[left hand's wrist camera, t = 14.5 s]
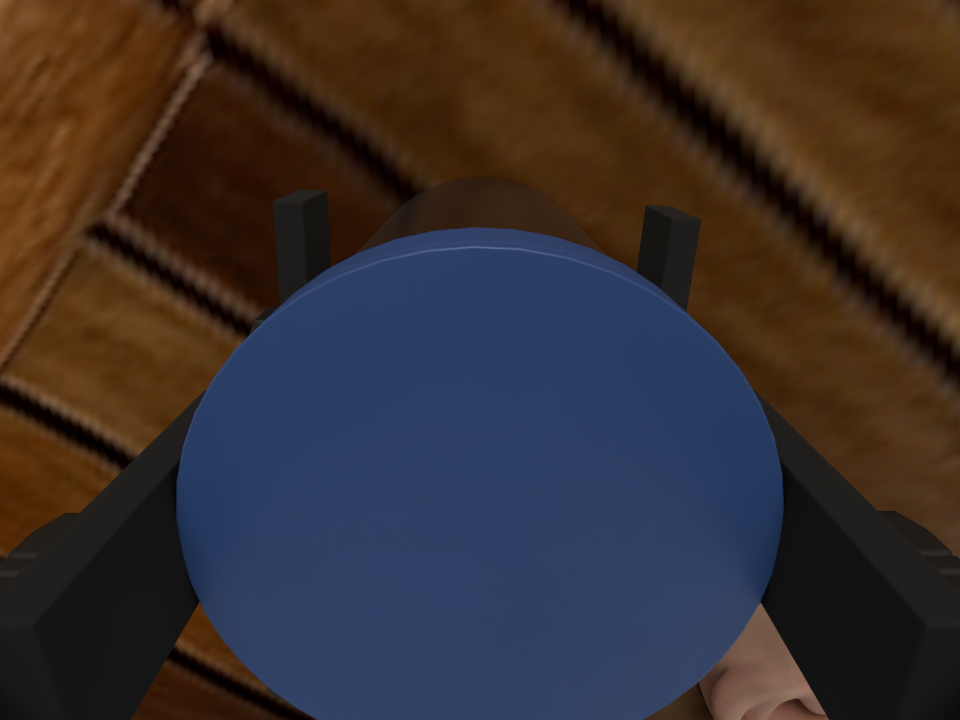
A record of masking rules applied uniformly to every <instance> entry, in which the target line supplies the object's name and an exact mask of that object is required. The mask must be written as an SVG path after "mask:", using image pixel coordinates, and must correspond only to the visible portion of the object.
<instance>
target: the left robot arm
mask: <svg viewBox="0 0 960 720" xmlns="http://www.w3.org/2000/svg"><path fill="white" fill-rule="evenodd" d="M205 393H206V391H204V392H203V393H202V394H201V395H200V396H199V397H198V398H197V399H196V400H195V401H194V402H192V403H191V404H190V405H189V406H188V407H187V408H186V409H185V410H184V411H183V412H182V413H181V414H180V415H179V416H178V417H177V418H176V419H175V420H174V421H173V422H172V423H171V424H170V425H169V426H168V427H167V428H166V429H165V430H164V431H163V432H162V433H161V434H160V435H159V436H158V437H157V438H156V439H155V440H154V441H153V442H152V443H151V444H150V445H149V446H148V447H147V448H146V449H145V450H144V451H143V452H142V453H141V454H140V455H138V456H137V457H136V458H135V459H134V460H133V461H132V462H131V463H130V464H129V465H128V466H127V467H126V468H125V469H124V470H123V471H122V472H121V473H120V474H119V475H118V476H117V477H116V478H115V479H114V480H113V481H112V482H111V483H110V484H109V485H108V486H107V487H106V488H105V489H104V490H103V491H102V492H101V493H100V494H99V495H98V496H97V497H96V498H95V499H94V500H93V501H92V502H91V503H90V504H89V505H88V506H87V507H86V508H85V509H83V510H82V511H81V512H80V513H65V514H63V515H61V516H60V517H58V518H56V519H54V520H53V521H51V522H49V523H47V524H46V525H44V526H42V527H41V528H39V529H37V530H35V531H34V532H32V533H31V534H30V535H29V536H28V537H27V538H26V539H24V540H23V541H22V542H21V543H20V544H19V545H18V546H17V547H16V548H15V549H14V550H12V551H11V552H10V553H9V554H8V558H7V559H3V560H2V561H1V562H0V720H131V719H132V717H133V715H134V713H135V712H136V710H137V708H138V706H139V705H140V703H141V701H142V700H143V698H144V696H145V694H146V693H147V691H148V689H149V688H150V686H151V684H152V682H153V681H154V679H155V677H156V676H157V674H158V672H159V670H160V669H161V667H162V665H163V664H164V662H165V660H166V658H167V657H168V655H169V653H170V652H171V650H172V648H173V646H174V645H175V643H176V641H177V639H178V638H179V636H180V634H181V633H182V631H183V629H184V627H185V626H186V624H187V622H188V621H189V619H190V617H191V615H192V614H193V612H194V610H195V609H196V607H197V605H198V603H199V602H200V601H199V599H198V597H197V595H196V593H195V591H194V589H193V586H192V584H191V582H190V579H189V575H188V572H187V569H186V565H185V561H184V556H183V552H182V546H181V541H180V536H179V530H178V525H177V519H176V497H177V478H178V472H179V466H180V460H181V455H182V449H183V445H184V442H185V439H186V437H187V434H188V431H189V428H190V425H191V422H192V419H193V416H194V413H195V411H196V409H197V408H198V406H199V404H200V402H201V400H202V398H203V396H204V395H205ZM754 393H755V395H756V396H757V398H758V400H759V401H760V403H761V405H762V408H763V410H764V413H765V415H766V418H767V420H768V423H769V426H770V428H771V431H772V433H773V436H774V438H775V443H776V447H777V452H778V457H779V461H780V466H781V470H782V480H783V498H784V514H783V524H782V529H781V535H780V541H779V546H778V550H777V555H776V560H775V565H774V569H773V574H772V576H771V578H770V581H769V583H768V586H767V588H766V590H765V593H764V595H763V597H762V600H761V604H762V606H763V607H764V609H765V611H766V613H767V614H768V616H769V618H770V619H771V621H772V623H773V625H774V626H775V628H776V630H777V632H778V633H779V635H780V637H781V638H782V640H783V642H784V644H785V645H786V647H787V649H788V650H789V652H790V654H791V656H792V657H793V659H794V661H795V662H796V664H797V666H798V668H799V669H800V671H801V673H802V674H803V676H804V678H805V680H806V681H807V683H808V685H809V686H810V688H811V690H812V692H813V693H814V695H815V697H816V698H817V700H818V702H819V704H820V705H821V707H822V709H823V711H824V712H825V714H826V716H827V717H828V719H829V720H960V559H959V558H958V557H957V556H952V552H951V551H950V550H949V549H948V548H947V547H946V546H945V545H944V544H943V543H942V542H940V541H939V540H938V539H937V538H936V537H935V536H934V535H933V534H932V533H931V532H930V531H928V530H927V529H925V528H924V527H922V526H920V525H918V524H917V523H915V522H913V521H911V520H910V519H908V518H906V517H904V516H903V515H901V514H899V513H897V512H896V511H877V510H876V509H875V508H874V507H873V506H872V505H871V504H870V503H869V502H868V501H867V500H866V499H865V498H864V497H863V496H862V495H861V494H860V493H859V492H858V491H857V490H856V489H855V488H854V487H853V486H852V485H851V484H850V483H849V482H848V481H847V480H846V479H845V478H844V477H843V476H842V475H840V474H839V473H838V472H837V471H836V470H835V469H834V468H833V467H832V466H831V465H830V464H829V463H828V462H827V461H826V460H825V459H824V458H823V457H822V456H821V455H820V454H819V453H818V452H817V451H816V450H815V449H814V448H813V447H812V446H811V445H810V444H809V443H808V442H807V441H806V440H805V439H804V438H803V437H802V436H801V435H800V434H799V433H798V432H797V431H796V430H795V429H794V428H793V427H792V426H791V425H790V424H789V423H788V422H786V421H785V420H784V419H783V418H782V417H781V416H780V415H779V414H778V413H777V412H776V411H775V410H774V409H773V408H772V407H771V406H770V405H769V404H768V403H767V402H766V401H765V400H764V399H763V398H762V397H761V396H760V395H759V394H758V393H757V392H756V391H754Z"/></svg>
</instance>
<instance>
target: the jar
mask: <svg viewBox="0 0 960 720" xmlns="http://www.w3.org/2000/svg"><path fill="white" fill-rule="evenodd" d="M473 227H478V228H498V229H516V230H521V231H527V232H532V233H538V234H543V235H549V236H554V237H557V238H560V239H563V240H566V241H569V242H573V243H576V244H579V245H582V246H585V247H588V248H591V249H593V250H595V251H597V252H599V253H601V254H604V253H603V252H602V250H601V249H600V248H599V247H598V246H597V245H596V244H595V243H594V242H593V241H592V240H591V239H590V238H589V237H588V235H587V234H586V233H585V232H584V231H583V230H582V229H581V228H580V227H579V226H578V225H577V224H576V223H575V221H574V220H573V219H572V218H571V217H570V216H569V215H568V214H567V213H566V212H565V211H564V210H563V209H561V208H560V207H559V206H558V205H557V204H556V203H554V202H553V201H552V200H550V199H549V198H547V197H546V196H544V195H543V194H541V193H539V192H537V191H535V190H533V189H531V188H529V187H527V186H524V185H521V184H518V183H515V182H512V181H506V180H501V179H496V178H467V179H459V180H455V181H450V182H446V183H443V184H440V185H438V186H435V187H432V188H430V189H428V190H426V191H424V192H422V193H420V194H418V195H417V196H415V197H413V198H412V199H411V200H409V201H408V202H407V203H405V204H404V205H403V206H401V207H400V208H399V209H398V210H397V211H396V212H395V213H394V214H393V215H392V216H391V217H390V218H389V219H388V220H387V221H386V222H385V223H384V224H383V225H382V227H381V228H380V229H379V230H378V231H377V232H376V233H375V234H374V235H373V236H372V237H371V238H370V239H369V240H368V241H367V243H366V244H365V245H364V246H363V247H362V248H361V249H360V250H359V251H358V252H357V253H359V252H362V251H365V250H368V249H370V248H373V247H376V246H378V245H381V244H384V243H387V242H389V241H392V240H395V239H399V238H404V237H408V236H413V235H417V234H422V233H426V232H431V231H437V230H449V229H461V228H473ZM357 253H356V254H357ZM604 255H605V254H604Z"/></svg>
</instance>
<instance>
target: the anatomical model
mask: <svg viewBox="0 0 960 720" xmlns="http://www.w3.org/2000/svg"><path fill="white" fill-rule="evenodd" d="M699 685H700V688H701V691H702V694H703V697H704V699H705V702H706V704H707V706H708V709H709V711H710V713H711V715H712V717H713V719H714V720H829V719H828V717H827V716H826V714H825V712H824V711H823V709H822V707H821V705H820V704H819V702H818V700H817V698H816V697H815V695H814V693H813V692H812V690H811V688H810V686H809V685H808V683H807V681H806V680H805V678H804V676H803V674H802V673H801V671H800V669H799V668H798V666H797V664H796V662H795V661H794V659H793V657H792V656H791V654H790V652H789V650H788V649H787V647H786V645H785V644H784V642H783V640H782V638H781V637H780V635H779V633H778V632H777V630H776V628H775V626H774V625H773V623H772V621H771V619H770V618H769V616H768V614H767V613H766V611H765V609H764V607H763V606H762V604H761V602H760V604H759V606H758V608H757V610H756V611H755V613H754V615H753V616H752V618H751V620H750V621H749V623H748V625H747V626H746V628H745V630H744V631H743V633H742V634H741V635H740V637H739V638H738V639H737V641H736V642H735V643H734V644H733V646H732V647H731V648H730V649H729V651H728V652H727V653H726V654H725V656H724V657H723V658H722V659H721V660H720V661H719V662H718V663H717V664H716V665H715V666H714V667H713V668H712V669H711V670H710V671H709V672H708V673H707V674H706V675H705V676H704V677H703V678H702V679H701V680H700V681H699Z"/></svg>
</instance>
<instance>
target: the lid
mask: <svg viewBox="0 0 960 720" xmlns="http://www.w3.org/2000/svg"><path fill="white" fill-rule="evenodd" d="M783 514H784V498H783V480H782V470H781V466H780V461H779V457H778V452H777V447H776V443H775V438H774V436H773V433H772V431H771V428H770V426H769V423H768V420H767V418H766V415H765V413H764V410H763V408H762V405H761V403H760V401H759V400H758V398H757V396H756V395H755V393H754V391H753V390H752V388H751V386H750V385H749V383H748V381H747V379H746V378H745V376H744V374H743V373H742V371H741V370H740V369H739V367H738V366H737V365H736V364H735V363H734V361H733V360H732V359H731V358H730V356H729V355H728V354H727V353H726V352H725V350H724V349H723V348H722V347H721V346H720V344H719V343H718V342H717V341H716V340H715V339H714V338H713V337H712V336H711V335H710V334H709V333H708V332H707V331H706V330H705V329H703V328H702V327H701V326H700V325H699V324H698V323H697V322H696V321H695V320H694V319H693V318H692V317H691V316H689V315H688V314H687V313H686V312H685V311H684V310H683V309H682V308H681V307H680V306H679V305H677V304H676V303H675V302H674V301H673V300H672V299H671V298H670V297H669V296H667V295H666V294H665V293H664V292H663V291H662V290H661V289H660V288H659V287H657V286H656V285H655V284H653V283H652V282H650V281H649V280H647V279H646V278H644V277H643V276H641V275H640V274H638V273H637V272H635V271H634V270H632V269H631V268H629V267H628V266H626V265H624V264H622V263H620V262H618V261H616V260H614V259H612V258H610V257H608V256H606V255H604V254H601V253H599V252H597V251H595V250H593V249H591V248H588V247H585V246H582V245H579V244H576V243H573V242H569V241H566V240H563V239H560V238H557V237H554V236H549V235H543V234H538V233H532V232H527V231H521V230H516V229H498V228H478V227H473V228H461V229H449V230H437V231H431V232H426V233H422V234H417V235H413V236H408V237H404V238H399V239H395V240H392V241H389V242H387V243H384V244H381V245H378V246H376V247H373V248H370V249H368V250H365V251H362V252H359V253H357V254H355V255H354V256H352V257H350V258H348V259H346V260H344V261H342V262H340V263H338V264H337V265H335V266H333V267H331V268H329V269H327V270H325V271H324V272H322V273H321V274H320V275H318V276H317V277H316V278H314V279H313V280H311V281H310V282H309V283H307V284H306V285H305V286H303V287H302V288H300V289H299V290H298V291H296V292H295V293H294V294H293V295H292V296H291V297H290V298H288V299H287V300H286V301H285V302H284V303H283V304H282V305H281V306H280V307H279V308H278V309H277V310H275V311H274V312H273V313H272V314H271V315H270V316H269V317H268V318H267V319H266V320H265V321H264V322H263V323H262V324H261V325H260V326H259V327H258V328H257V329H255V330H254V331H253V332H252V333H251V334H250V335H249V336H248V337H247V338H246V339H245V340H244V341H243V342H242V343H241V344H240V345H239V346H238V347H237V348H236V349H235V350H234V352H233V353H232V354H231V356H230V357H229V358H228V360H227V361H226V362H225V364H224V365H223V366H222V368H221V369H220V370H219V372H218V373H217V374H216V376H215V377H214V378H213V380H212V381H211V383H210V385H209V387H208V389H207V391H206V393H205V395H204V396H203V398H202V400H201V402H200V404H199V406H198V408H197V409H196V411H195V413H194V416H193V419H192V422H191V425H190V428H189V431H188V434H187V437H186V439H185V442H184V445H183V449H182V455H181V460H180V466H179V472H178V478H177V497H176V519H177V525H178V530H179V536H180V541H181V546H182V552H183V556H184V561H185V565H186V569H187V572H188V575H189V579H190V582H191V584H192V586H193V589H194V591H195V593H196V595H197V597H198V599H199V601H200V604H201V606H202V608H203V610H204V612H205V614H206V615H207V617H208V618H209V620H210V621H211V623H212V624H213V626H214V628H215V629H216V631H217V632H218V634H219V635H220V637H221V638H222V640H223V641H224V642H225V643H226V645H227V646H228V647H229V648H230V649H231V651H232V652H233V653H234V654H235V655H236V656H237V658H238V659H239V660H240V661H241V662H242V664H243V665H244V666H245V667H247V668H248V669H249V670H250V671H251V672H252V673H253V674H254V675H255V676H256V677H257V678H258V679H259V680H261V681H262V682H263V683H264V684H265V685H266V686H267V687H268V688H270V689H271V690H272V691H274V692H275V693H276V694H278V695H279V696H281V697H282V698H283V699H285V700H286V701H287V702H289V703H290V704H291V705H293V706H294V707H296V708H298V709H299V710H301V711H303V712H305V713H306V714H308V715H310V716H311V717H313V718H315V719H317V720H644V719H646V718H647V717H649V716H651V715H652V714H654V713H656V712H657V711H659V710H660V709H662V708H664V707H665V706H667V705H668V704H670V703H672V702H673V701H675V700H676V699H677V698H678V697H680V696H681V695H682V694H684V693H685V692H686V691H687V690H689V689H690V688H691V687H693V686H694V685H695V684H696V683H698V682H699V681H700V680H701V679H702V678H703V677H704V676H705V675H706V674H707V673H708V672H709V671H710V670H711V669H712V668H713V667H714V666H715V665H716V664H717V663H718V662H719V661H720V660H721V659H722V658H723V657H724V656H725V654H726V653H727V652H728V651H729V649H730V648H731V647H732V646H733V644H734V643H735V642H736V641H737V639H738V638H739V637H740V635H741V634H742V633H743V631H744V630H745V628H746V626H747V625H748V623H749V621H750V620H751V618H752V616H753V615H754V613H755V611H756V610H757V608H758V606H759V604H760V602H761V600H762V597H763V595H764V593H765V590H766V588H767V586H768V583H769V581H770V578H771V576H772V574H773V569H774V565H775V560H776V555H777V550H778V546H779V541H780V535H781V529H782V524H783Z"/></svg>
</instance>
